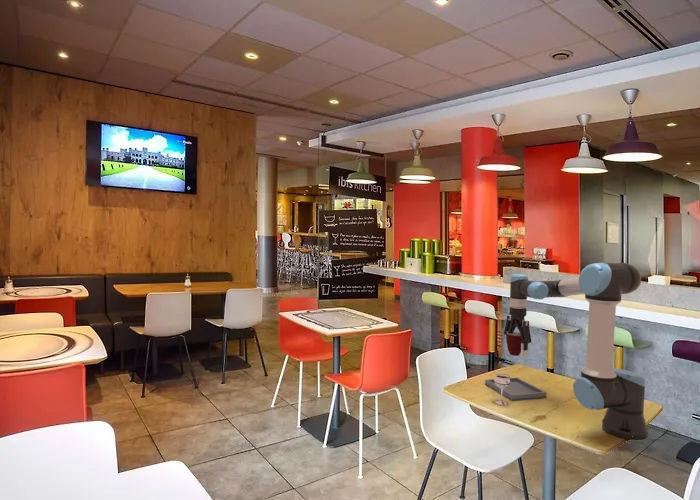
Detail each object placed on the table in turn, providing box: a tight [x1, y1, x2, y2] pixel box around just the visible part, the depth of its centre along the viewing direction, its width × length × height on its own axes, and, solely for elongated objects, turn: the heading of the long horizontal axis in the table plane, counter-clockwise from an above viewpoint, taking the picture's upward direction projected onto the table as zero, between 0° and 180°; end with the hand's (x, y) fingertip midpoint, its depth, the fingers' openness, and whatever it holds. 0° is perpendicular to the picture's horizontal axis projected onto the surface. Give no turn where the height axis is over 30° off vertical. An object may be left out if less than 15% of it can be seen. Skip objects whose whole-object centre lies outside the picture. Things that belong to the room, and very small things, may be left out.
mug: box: [505, 331, 522, 357], centre depth 214 cm, size 10×8×10 cm
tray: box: [484, 376, 547, 402], centre depth 216 cm, size 22×18×2 cm
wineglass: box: [493, 373, 511, 406], centre depth 201 cm, size 7×7×12 cm
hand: (516, 353), depth 215 cm, fingers closed on mug, 11 cm apart
